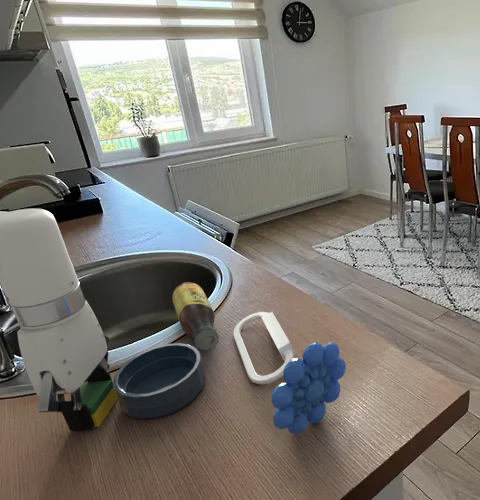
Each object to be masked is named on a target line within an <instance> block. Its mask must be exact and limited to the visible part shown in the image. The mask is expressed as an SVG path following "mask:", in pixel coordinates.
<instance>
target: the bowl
mask: <svg viewBox="0 0 480 500" xmlns="http://www.w3.org/2000/svg"><path fill="white" fill-rule="evenodd" d="M206 380H207V377H206V370H205V367H204V362H203V359H202V355H201V352H200V351H199V349H198V348H197V347H196V346H193V345H192V344H191V345H190V344H188V343H181V342H177V343H166V344H162V345H158V346H154V347H151V348H148V349H146V350H144V351H141V352H140V353H138V354H137V355H135V356H133V357H131V358H130V359H129V360H127V361H126V362H125V363H124V364H122V365H121V366H120V368H119V369H118V370H117V372H116V373H115V374H114V377H113V380H112V381H113V386H114V389H115V392H116V394H117V397H118V399H117V400H118V401H119V404H120V408H121V409H122V412H123V413H124V414H126V415H128V416H129V417H132V418H136V419H155V418H156V419H157V418H161V417H165V416H167V415H170V414H173V413H175V412H177V411H179V410H180V409H182V408H184V407H185V406H187V405H188V404H189V403H191V402H192V401H193V400H194V399H195V398H196V397H197V395H198V394H200V392H201V391H202V389H203V388H204V386H205V383H206Z"/></svg>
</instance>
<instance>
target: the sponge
mask: <svg viewBox="0 0 480 500" xmlns="http://www.w3.org/2000/svg"><path fill="white" fill-rule="evenodd" d="M112 381H113V380H112ZM112 381H111V380H109V381H98V382H88V381H86V382H83V384H82V385H81V386H80V394H81V402H82V404H86V405H87V407H88V410H89V413H90V415H91V417H92V420H93V422H94V427H93V428H99V427H100V426H101V425H102V423H103V422H104V421H105V419H106V417H107V416H108V414H109V413H110V412H111V410H112V408H113V407H114V406H115V404H116V402H117V401H118V400H119V399H118V397H117V394H116V392H115V389H114V386H113V384H112ZM69 401H71V399H70V400H69Z"/></svg>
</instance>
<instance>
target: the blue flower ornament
mask: <svg viewBox="0 0 480 500" xmlns="http://www.w3.org/2000/svg"><path fill="white" fill-rule="evenodd" d="M340 355H341V354H340V347H339V345H338V344H337V343H335V342H328V343H326V344H324V345H322V343H319V342H311V343H309V344H308V345H307V346H306V347H305V348H304V350H303V353H302V359H301V358H299V357H294V359H292V360H290V361H289V362H288V363H287V365H286V366H285V368H284V371H283V376H282V377H283V380H284V382H281V383H279V384H278V385H276V387H275V388H274V389H273V391H272V394H271V401H270V402H271V405H272V406H273V408H275V411H274V413H273V416H272V418H273V419H272V422H273V425H274V427H275V428H277V429H279V430H283V429H284V430H285V429H287V430H288V432H289V433H290V434H293V435H298V434H301V433H303V432H304V431H305V430H307V429H306V428H307V426H308V424H309V423H310V424H313V425H314V424H318V423H320V422H321V421H323V419H324V418H325V416H326V412H327V407H326V405H327V404H330V403H333V402H335V401H336V400H338V399H339V396H340V395H341V394H340V393H341V384H340V382H339V380H341V379H342V378H343V377H344V376H345V374H346V369H347V367H346V366H347V365H346V362H345V360H344V358H342V357H340Z"/></svg>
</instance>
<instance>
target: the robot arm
mask: <svg viewBox="0 0 480 500" xmlns="http://www.w3.org/2000/svg"><path fill="white" fill-rule="evenodd" d="M0 286H1V288H2V291H3V293H4V295H5V297H6V300H7V302H8V303H9V306H10V308H11V310H12V313H13V314H14V316H15V319H16V321H17V324H18V325H19V327H20V328H19V329H18V330H17V332H16V333H17V341H18V346H19V351H20V355H21V358H22V362H23V365H24V368H25V372H26V373H27V376H28V379H29V382H30V384H31V386H32V389H33V390H34V392H35V394H36V396H38V397H39V399H38V405H37V412H38V413H61V414H62V416H63V418H64V420H65V423H66V425H67V427H68V429H69V430H70V432H71V431H72V432H74V431H75V432H76V431H88V430H92V429H93V428H95V427H94V422H93V420H92V417H91V415H90V413H89V410H88V407H87V405H86V404H82V402H81V394H80V388H81V387H82V385H83V384H84V383H85V381H86V382H98V381H109V380H111V381H112V384H113V381H114V380H113V379H112V377H111V374H110V370H111V365H110V364H109V362H108V359H109V351H108V350H109V345H110V337H109V336H107V335H104V334H105V333H104V332H103V329H102V327H101V325H100V323H99V321H98V318H97V317H96V315H95V312H94V311H93V309H92V307H91V306H90V304H89V302H88V301H87V299H86V297H85V295H84V291H83V289H82V287H81V283H80V281H79V279H78V275H77V272H76V271H75V268H74V265H73V262H72V259H71V256H70V254H69V251H68V249H67V246H66V244H65V241H64V238H63V235H62V232H61V230H60V228H59V225H58V222H57V220H56V218H55V216H54V214H52V213H51V212H50V211H48V210H46V209H43V208H33V207H32V208H23V209H16V210H11V211H1V210H0ZM65 394H68V395H70V400H71V401H70V400H66V399H65Z"/></svg>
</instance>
